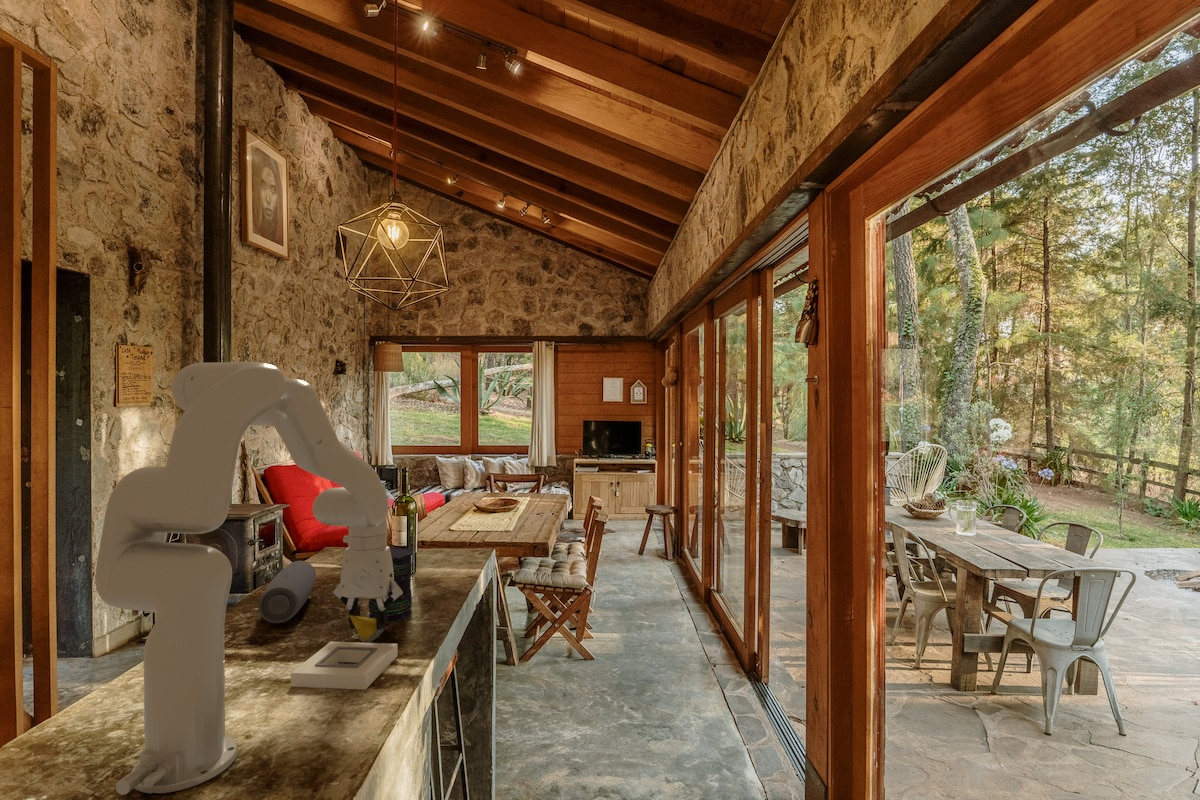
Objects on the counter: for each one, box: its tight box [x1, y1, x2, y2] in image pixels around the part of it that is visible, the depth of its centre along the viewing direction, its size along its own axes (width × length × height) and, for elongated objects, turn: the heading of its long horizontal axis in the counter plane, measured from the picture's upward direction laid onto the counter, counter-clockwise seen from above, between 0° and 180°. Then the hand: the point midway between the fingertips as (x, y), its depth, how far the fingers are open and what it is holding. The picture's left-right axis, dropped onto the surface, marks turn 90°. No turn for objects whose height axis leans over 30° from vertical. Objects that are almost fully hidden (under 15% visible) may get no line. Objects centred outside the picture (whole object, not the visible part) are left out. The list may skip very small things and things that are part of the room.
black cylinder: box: [368, 547, 413, 624], centre depth 147 cm, size 10×10×15 cm
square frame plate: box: [290, 641, 399, 691], centre depth 118 cm, size 14×14×3 cm
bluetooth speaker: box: [257, 560, 317, 624], centre depth 150 cm, size 23×9×10 cm, turn 15°
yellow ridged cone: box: [348, 614, 385, 643], centre depth 131 cm, size 5×5×10 cm
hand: (368, 626), depth 131 cm, fingers closed on yellow ridged cone, 5 cm apart
